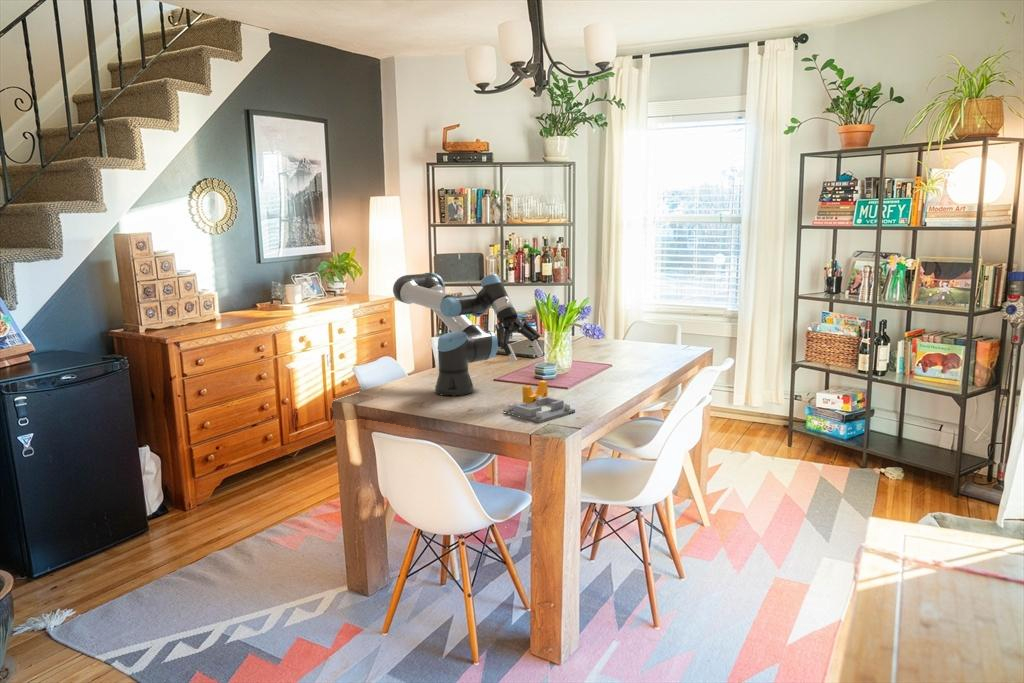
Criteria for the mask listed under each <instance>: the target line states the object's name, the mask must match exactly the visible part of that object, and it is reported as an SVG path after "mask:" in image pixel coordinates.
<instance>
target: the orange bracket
mask: <svg viewBox="0 0 1024 683" xmlns="http://www.w3.org/2000/svg"><path fill="white" fill-rule="evenodd" d="M537 397H542V398H544V397H549V395H548V381H547V380H540V381H538V386H537V388H536V390H535V391H534V393H533V390H532V386H529V385H525V386H522V403H527V404H528V403H532V402H536V401H537Z"/></svg>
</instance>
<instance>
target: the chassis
mask: <svg viewBox="0 0 1024 683" xmlns="http://www.w3.org/2000/svg"><path fill="white" fill-rule="evenodd" d="M507 407H508V408H507V409H504V410H503V411H502V412H506V413H510V414H513V415H516V416H520V417H523V418H525V419H524V420H526V419H529V420H528V421H530V420H532V421H531V422H534V421H535V422H534V423H537V422H538V424H540V422H541V423H543V421H544V422H547V420H548V421H550V419H551V420H554V419H557V418H556V417H558V418H560V416H561V417H564V416H567V415H566V414H568V415H570V414H569V413H571V414H573V413H572V412H574V413H576V409H574V408H571V404H570V403H569V402H568V403H565V402H564V400H563V399H559V398H554V397H550V396H548V397H544V398H542V397H537V401H536V402H532V403H528V404H527V403H523V402H522V403H518V404H514V403H510V404H509V403H508V405H507ZM563 415H564V416H563ZM516 416H515V417H516ZM523 418H522V419H523ZM553 418H554V419H553Z"/></svg>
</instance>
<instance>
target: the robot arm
mask: <svg viewBox="0 0 1024 683" xmlns="http://www.w3.org/2000/svg"><path fill="white" fill-rule="evenodd" d="M480 284H481V287H482V288H481V289H479V291H478V292H477V293H476V294H468V295H454V294H450V293H446V285H445V281H444V280H443V278H442V277H441V276H440V275H439V274H438V273H434V272H425V273H420V274H418V273H417V274H406V275H402V276H400V277H398V278H397V279H396V280H395V282H394V284H393V286H392V291H393V292H392V293H393V296H394V297H395V299H396V300H398V301H399V302H401V303H403V304H407V305H411V304H415V305H419V306H421V307H424V308H428V309H431V310H432V311H433V313H435V314H436V316H437V317H438V318H439V319H440V320H441V321H442V322H443V324H445V325H446V327H447V328H448V329H449V330H450V331H451V332H447V333H443V334H442V335H440V336H439V337H438V340H437V354H438V355H437V356H438V376H437V379H436V384H435V387H434V388H435V389H434V391H435V392H436V393H438V394H442V395H452V396H451V397H457V396H456V395H461V396H466V395H465V394H467V395H469V393H470V394H472V393H473V392H474V385H473V384H474V383H473V382H472V378H471V376H470V372H469V364H470V363H471V364H472V363H477V362H482V361H487V360H490V359H492V358H494V357H496V355H497V353H498V350H499V348H500V349H501V350H504V352H505V353H506V354H505V355H507V356H508V358H509V360H510V363H511V364H514V363H516V362H517V361H518V358H517V357H516V354H515V352H514V349H513V348H512V346H511V344H509V341H510V336H511V334H513V333H518V334H521V335H522V336H524V337H525V338H526V339H528V340H529V341H530V342H531V343H530V345H531V347H532V348H533V350H534V352H535V354H536V356H537V358H538V359H539V358H541V357H542V356H543V355H544V353H543V350H542V348H541V344H540V342H539V339H540V338H541V334H540V333H538V332H537V330H535V329H534V328H533V327H532V326H531V324H529V323H528V321H527V319H526V318H525V317H523V318H521V319H519V318H518V313H517V311H516V309H515V307H514V305H513V303H512V301H511V299H510V297H509V295H508V293H507V290H506V288H505V286H504V284H503V282H502V279H501V278H500V276H499V275H498V274H497V273H490V274H488V275H485V276H484V277H483V278H482V279H481V280H480ZM491 307H492V310H493V311H494V314H495V315H496V319H497V321H499V322H498V323H496V325H495V329H496V333H495V332H494V331H492V330H490V329H486V330H484V328H483V327H482V326H481V325H479V324H478V323H473V322H472V321H471V320H470V319H469V318H468V317H467V316H466V315H471V316H473V317H476V318H479V317H481V316H483V315H484V314H486V313H487V312H488V310H489V309H491ZM435 392H434V393H435ZM471 392H472V393H471ZM436 393H435V394H436ZM438 394H437V395H438ZM442 395H441V396H442Z"/></svg>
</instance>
